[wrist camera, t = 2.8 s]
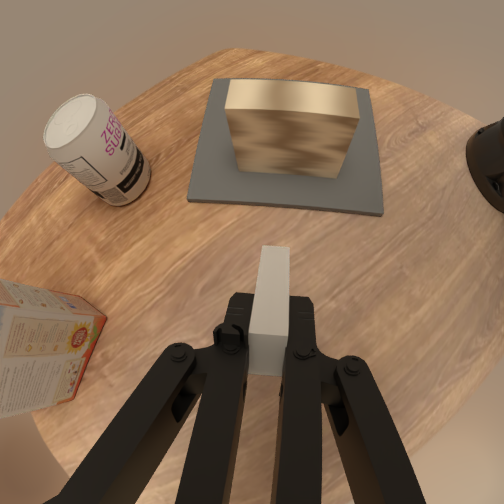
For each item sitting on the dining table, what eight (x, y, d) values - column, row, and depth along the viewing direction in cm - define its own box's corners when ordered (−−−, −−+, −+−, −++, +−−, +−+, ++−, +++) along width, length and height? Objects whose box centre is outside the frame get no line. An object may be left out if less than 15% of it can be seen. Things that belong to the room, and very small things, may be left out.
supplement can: (95, 176, 39) (37, 121, 24) (141, 146, 39) (94, 78, 25) (111, 218, 37) (42, 168, 22) (161, 185, 37) (109, 118, 23)
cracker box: (78, 294, 35) (-47, 261, 14) (109, 317, 34) (-25, 301, 13) (46, 375, 32) (-68, 385, 12) (74, 401, 31) (-43, 430, 11)
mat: (367, 93, 39) (368, 89, 38) (381, 216, 34) (383, 213, 33) (214, 83, 41) (213, 78, 40) (188, 202, 36) (186, 198, 35)
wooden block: (335, 150, 36) (355, 86, 24) (336, 178, 35) (359, 118, 23) (242, 143, 37) (230, 77, 25) (238, 171, 36) (224, 108, 24)
